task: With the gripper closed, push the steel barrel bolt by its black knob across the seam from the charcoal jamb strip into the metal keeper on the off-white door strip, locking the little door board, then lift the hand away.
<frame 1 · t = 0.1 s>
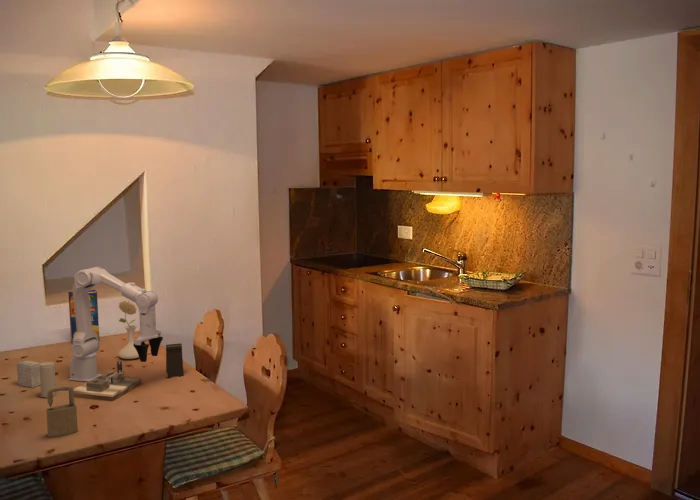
hand: (149, 358, 230), 10 cm above the table, tool pointing down, fingers open, 7 cm apart
flower in vase: (130, 357, 266), on the table
juice carton: (85, 341, 290), on the table
door and jamb: (107, 390, 224), on the table
grey upright block: (30, 385, 230), on the table
bolt: (114, 371, 228), point 6 cm above the table, slide at 0.0 cm
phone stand: (174, 373, 244), on the table
padlock: (62, 433, 187), on the table
beige cylinder: (48, 396, 219), on the table
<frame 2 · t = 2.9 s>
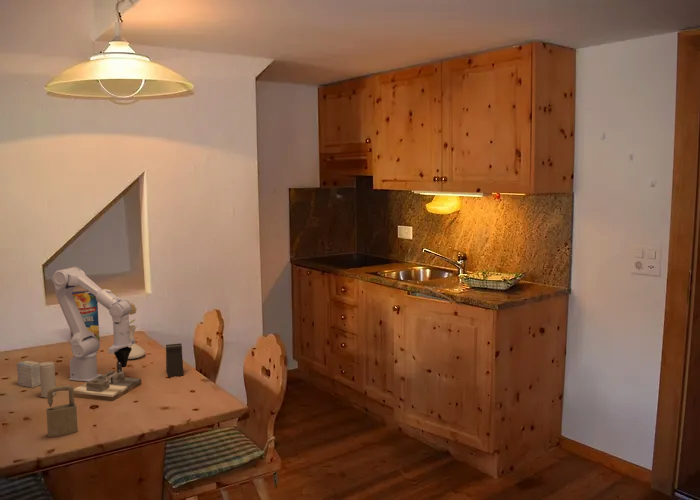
hand: (122, 366, 233), 6 cm above the table, tool pointing down, fingers closed
bolt: (114, 371, 228), point 6 cm above the table, slide at 0.1 cm, touching gripper
everything else where it was.
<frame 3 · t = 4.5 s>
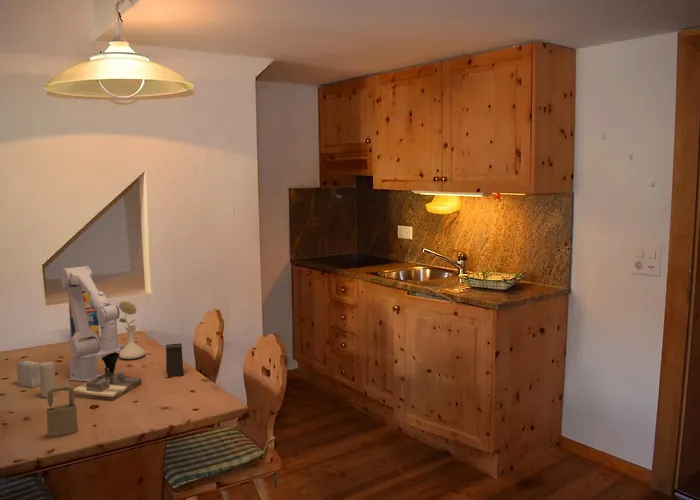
hand: (110, 372, 226), 6 cm above the table, tool pointing down, fingers closed
bolt: (102, 377, 221), point 6 cm above the table, slide at 7.3 cm, touching gripper
everything else where it was.
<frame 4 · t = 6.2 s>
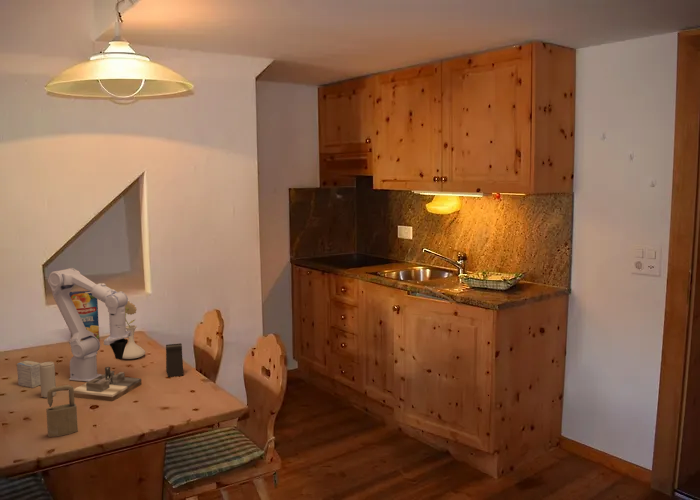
hand: (119, 358, 232), 9 cm above the table, tool pointing down, fingers closed
bolt: (102, 377, 221), point 6 cm above the table, slide at 7.2 cm
everything else where it was.
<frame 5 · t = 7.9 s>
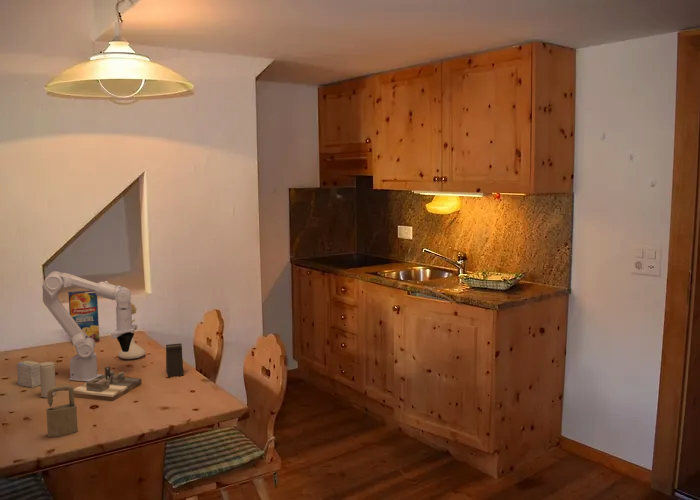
hand: (125, 351, 241), 9 cm above the table, tool pointing down, fingers closed
nothing on the table moved.
at the end: bolt slide at 7.2 cm; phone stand moved 0.3 cm from its start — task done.
